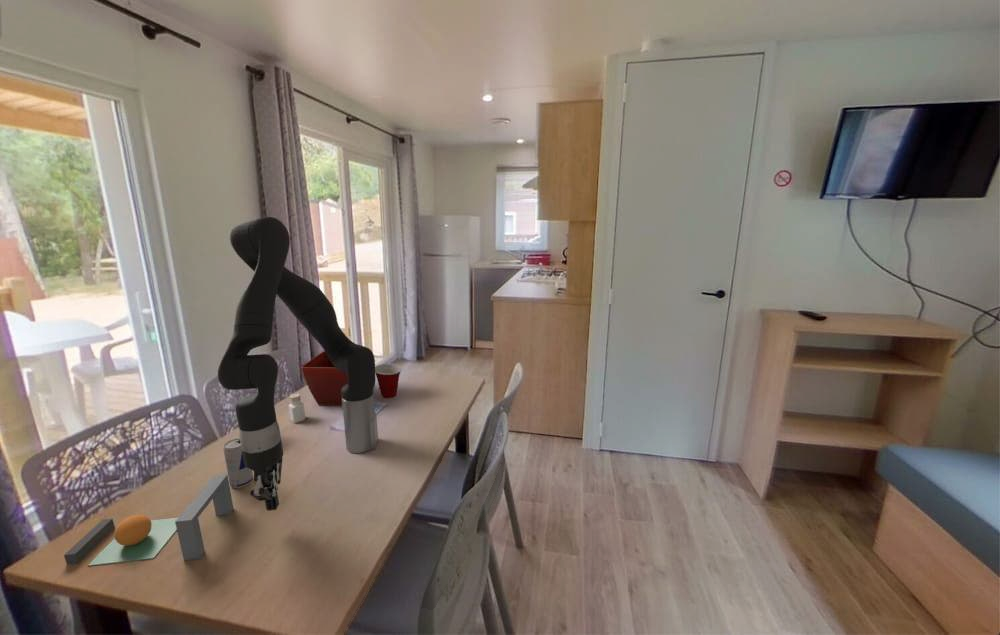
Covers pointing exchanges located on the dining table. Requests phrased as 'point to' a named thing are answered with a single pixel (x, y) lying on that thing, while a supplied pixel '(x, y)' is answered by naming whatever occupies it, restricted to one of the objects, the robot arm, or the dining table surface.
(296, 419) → the pepper shaker
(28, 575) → the dining table surface
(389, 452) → the dining table surface
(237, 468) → the energy drink
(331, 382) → the plant pot
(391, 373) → the plastic cup
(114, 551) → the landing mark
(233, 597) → the dining table surface
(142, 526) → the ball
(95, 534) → the wall
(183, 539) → the bridge
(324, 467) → the dining table surface
